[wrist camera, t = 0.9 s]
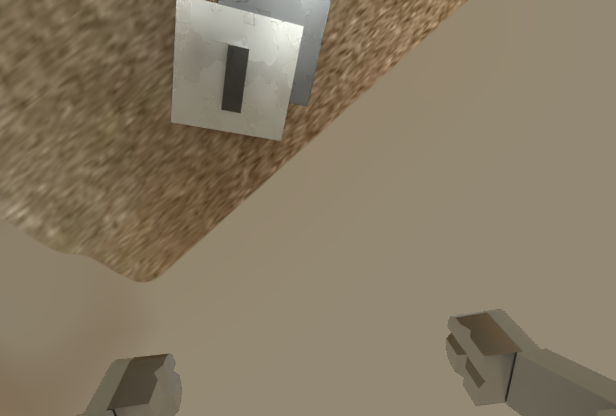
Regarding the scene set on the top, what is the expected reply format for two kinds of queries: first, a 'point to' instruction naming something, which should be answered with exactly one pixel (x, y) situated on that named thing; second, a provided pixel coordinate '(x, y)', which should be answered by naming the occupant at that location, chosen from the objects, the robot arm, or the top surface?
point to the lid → (232, 69)
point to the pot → (312, 15)
